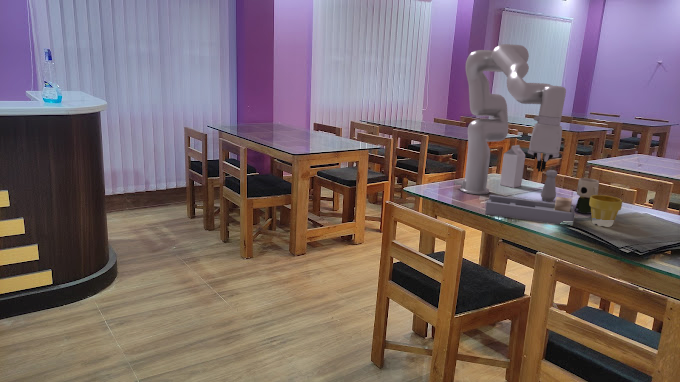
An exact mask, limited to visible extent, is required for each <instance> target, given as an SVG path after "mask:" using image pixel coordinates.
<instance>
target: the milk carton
mask: <svg viewBox="0 0 680 382" xmlns="http://www.w3.org/2000/svg"><path fill="white" fill-rule="evenodd" d="M520 145H521V144H516V145H511V148H510V149H508V150H507V151H506V152H504V153H503V156H502V157H503V158H502V165H501V166H502V167H501V173H500V181H499V185H500V186H504V187H507V188H508V187H509V188H513V189H515V188H518V187H521V186H522V182H523V176H524V167H525V160H526V154H525V152H524V151H523V150H522V148H521V146H520Z"/></svg>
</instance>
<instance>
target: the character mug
mask: <svg viewBox="0 0 680 382" xmlns="http://www.w3.org/2000/svg"><path fill="white" fill-rule="evenodd" d="M599 186H600V180H597V179H594V178H587V177H580V178H579V179H578V183H577V189H576V195H577V196H578V199H577V202H576V205H575V208H574V211H577V213H582V214H589V213H591V206H590V205H589V201H590V196H592V195H599V194H598V193H599Z"/></svg>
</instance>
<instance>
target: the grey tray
mask: <svg viewBox="0 0 680 382" xmlns="http://www.w3.org/2000/svg"><path fill="white" fill-rule="evenodd" d="M555 203H556V202H546V201H543V200H534V199H526V198H519V197H513V196H504V195H503V196H502V195H497V194H489V196H488V201H486V205H485V212H484V214H485V215H490V216H495V217H496V216H497V217H503V218H505V217H506V218H510V219H511V218H512V219H518V220H526V221H531V222H537V223H538V222H539V223H545V224H546V223H547V224H552V225H559V224H560V223H561V222H563V221H574V222H575V208H574V206H573V205H572V204H571V208H570V212H565V211H557V210H554V209H555Z"/></svg>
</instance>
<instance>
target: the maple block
mask: <svg viewBox="0 0 680 382" xmlns="http://www.w3.org/2000/svg"><path fill="white" fill-rule="evenodd" d="M554 203H555V209H554V210H557V211H565V212H570V208H571V205H572V198H569V197H562V196H556V197H555V202H554Z"/></svg>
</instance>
